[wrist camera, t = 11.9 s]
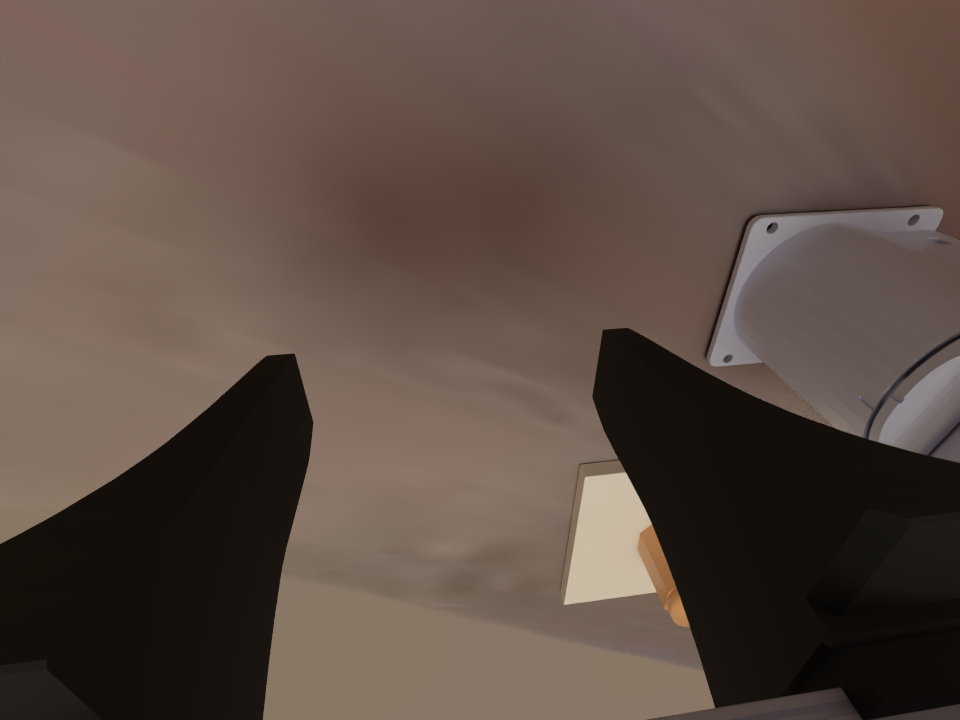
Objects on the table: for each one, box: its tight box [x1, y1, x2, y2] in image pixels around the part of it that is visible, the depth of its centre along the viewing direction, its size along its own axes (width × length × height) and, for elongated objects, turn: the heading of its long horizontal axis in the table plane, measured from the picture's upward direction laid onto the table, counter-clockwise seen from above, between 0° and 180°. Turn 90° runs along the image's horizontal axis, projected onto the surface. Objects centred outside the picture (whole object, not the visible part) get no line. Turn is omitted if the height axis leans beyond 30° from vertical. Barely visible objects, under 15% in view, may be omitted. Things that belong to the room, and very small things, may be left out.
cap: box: [638, 525, 690, 627], centre depth 31 cm, size 5×5×5 cm
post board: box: [560, 460, 656, 605], centre depth 32 cm, size 14×14×5 cm
